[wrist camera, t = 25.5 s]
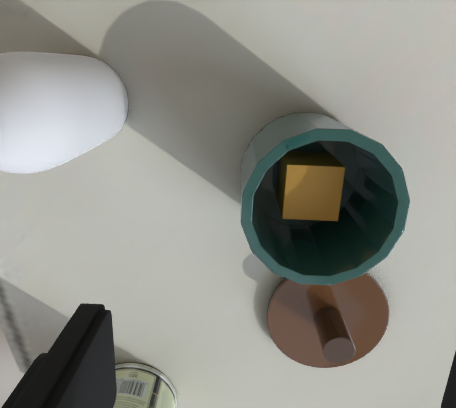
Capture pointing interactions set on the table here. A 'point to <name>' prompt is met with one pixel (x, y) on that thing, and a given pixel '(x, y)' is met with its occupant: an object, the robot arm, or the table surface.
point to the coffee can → (143, 387)
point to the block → (310, 186)
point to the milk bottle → (55, 108)
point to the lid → (328, 320)
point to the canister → (349, 207)
